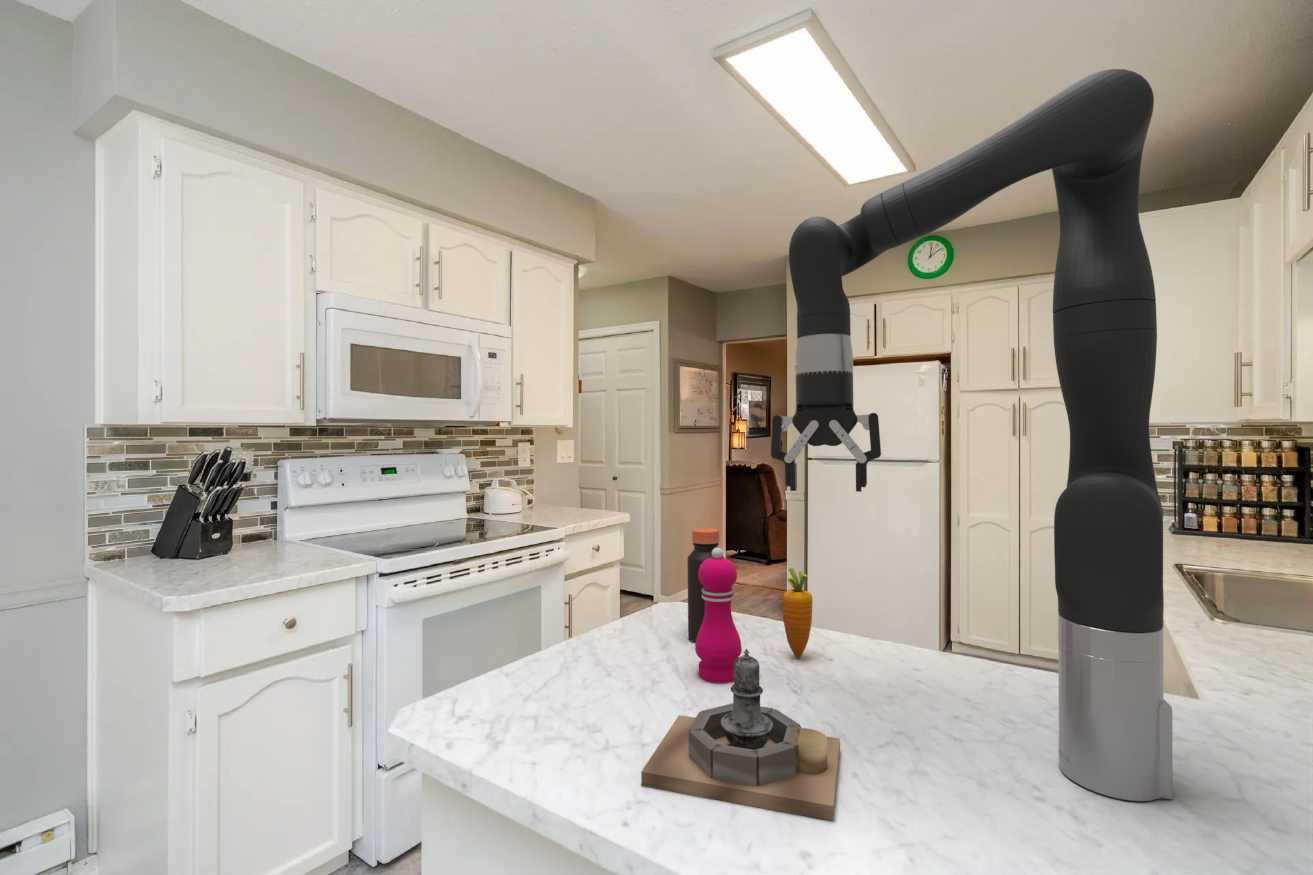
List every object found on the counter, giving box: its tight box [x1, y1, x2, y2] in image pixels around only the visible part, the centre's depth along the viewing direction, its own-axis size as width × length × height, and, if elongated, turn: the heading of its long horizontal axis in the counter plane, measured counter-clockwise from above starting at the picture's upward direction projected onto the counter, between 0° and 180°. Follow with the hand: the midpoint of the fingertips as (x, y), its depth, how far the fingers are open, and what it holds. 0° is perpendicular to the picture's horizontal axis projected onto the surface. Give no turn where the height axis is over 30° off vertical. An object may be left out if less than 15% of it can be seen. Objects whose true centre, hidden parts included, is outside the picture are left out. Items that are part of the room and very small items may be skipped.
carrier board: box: [640, 703, 841, 822], centre depth 70 cm, size 20×14×4 cm
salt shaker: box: [721, 648, 773, 750], centre depth 70 cm, size 6×6×12 cm
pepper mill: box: [694, 547, 743, 684], centre depth 97 cm, size 7×7×20 cm
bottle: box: [687, 527, 725, 643], centre depth 114 cm, size 7×7×20 cm
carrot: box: [782, 567, 813, 660], centre depth 104 cm, size 5×5×15 cm
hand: (825, 490), depth 84 cm, fingers open, 8 cm apart
